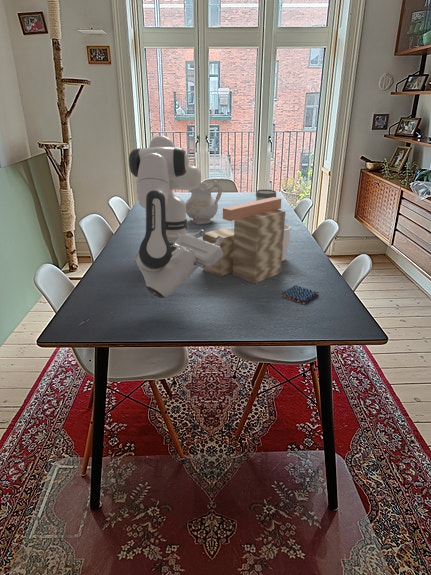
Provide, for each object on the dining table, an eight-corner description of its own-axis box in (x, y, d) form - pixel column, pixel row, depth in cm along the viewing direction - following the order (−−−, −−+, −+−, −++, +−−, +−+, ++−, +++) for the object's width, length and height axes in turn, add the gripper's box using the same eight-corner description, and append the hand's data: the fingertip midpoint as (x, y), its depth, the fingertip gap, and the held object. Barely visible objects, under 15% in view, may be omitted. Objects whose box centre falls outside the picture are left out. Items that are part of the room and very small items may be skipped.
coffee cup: (164, 265, 175) (163, 238, 170) (161, 258, 183) (160, 232, 178) (185, 263, 177) (184, 237, 172) (181, 256, 185) (180, 231, 180)
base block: (219, 276, 163) (219, 239, 157) (203, 269, 170) (202, 233, 163) (239, 269, 171) (241, 233, 164) (223, 262, 177) (224, 227, 171)
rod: (230, 221, 143) (230, 210, 142) (222, 219, 146) (222, 208, 144) (280, 208, 160) (281, 198, 159) (273, 206, 163) (273, 196, 161)
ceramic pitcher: (223, 220, 245) (223, 177, 237) (220, 226, 227) (220, 181, 219) (188, 219, 247) (187, 177, 239) (182, 225, 229) (181, 180, 220)
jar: (269, 263, 177) (272, 230, 170) (261, 255, 186) (263, 224, 179) (292, 261, 179) (295, 229, 173) (282, 253, 188) (285, 222, 182)
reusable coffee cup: (276, 218, 245) (277, 193, 239) (255, 218, 245) (256, 193, 239) (273, 213, 256) (275, 189, 250) (254, 213, 257) (255, 189, 250)
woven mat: (294, 288, 155) (294, 283, 154) (319, 296, 149) (319, 291, 148) (279, 297, 148) (279, 292, 147) (305, 306, 141) (305, 301, 141)
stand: (254, 283, 158) (257, 218, 147) (233, 274, 166) (234, 212, 155) (280, 273, 167) (285, 211, 156) (259, 265, 175) (262, 205, 164)
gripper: (202, 262, 129) (229, 234, 133) (164, 246, 142) (190, 221, 147) (209, 275, 133) (236, 248, 137) (172, 259, 147) (197, 234, 151)
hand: (212, 234), depth 142 cm, fingers open, 8 cm apart
